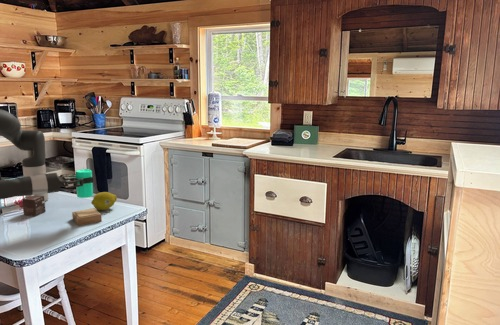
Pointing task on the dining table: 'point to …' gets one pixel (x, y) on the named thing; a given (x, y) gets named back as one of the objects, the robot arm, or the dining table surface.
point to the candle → (86, 188)
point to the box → (33, 205)
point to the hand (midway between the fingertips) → (90, 178)
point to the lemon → (104, 200)
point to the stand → (86, 216)
